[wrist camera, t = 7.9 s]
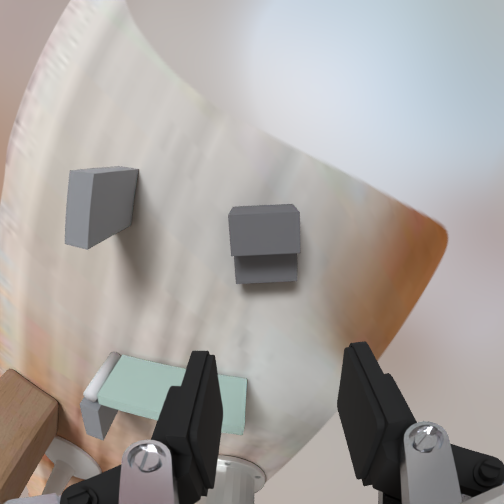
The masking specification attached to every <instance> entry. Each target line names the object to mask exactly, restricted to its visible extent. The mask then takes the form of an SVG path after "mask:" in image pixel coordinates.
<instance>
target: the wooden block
mask: <svg viewBox="0 0 504 504" xmlns="http://www.w3.org/2000/svg"><path fill="white" fill-rule="evenodd" d="M57 419H58V402H57V401H56V400H55V399H54V398H52V397H51V396H49V395H48V394H46V393H45V392H43V391H42V390H40V389H39V388H38V387H36V386H35V385H33V384H32V383H30V382H29V381H28V380H26V379H25V378H24V377H22V376H21V375H20V374H18V373H17V372H16V371H14V370H13V369H9V370H7V371H6V372H5V373H4V374H3V375H2V376H1V377H0V504H4V503H5V502H6V501H8V500H11V499H18V498H19V497H20V495H21V493H22V491H23V490H24V488H25V486H26V484H27V483H28V481H29V479H30V477H31V476H32V474H33V472H34V470H35V469H36V467H37V465H38V464H39V462H40V460H41V459H42V457H43V455H44V454H45V452H46V450H47V449H48V447H49V445H50V444H51V442H52V440H53V439H54V437H55V436H56V434H57Z"/></svg>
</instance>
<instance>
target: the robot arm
mask: <svg viewBox="0 0 504 504" xmlns="http://www.w3.org/2000/svg"><path fill="white" fill-rule="evenodd" d="M337 407H338V412H339V416H340V419H341V423H342V427H343V430H344V434H345V437H346V441H347V445H348V448H349V452H350V456H351V460H352V463H353V467H354V471H355V475H356V478H357V479H362V482H363V485H364V486H367V485H373V488H374V489H376V490H379V492H378V504H504V464H503V463H502V461H500V460H499V459H498V458H495V457H493V456H489V455H486V454H482V453H479V452H475V451H472V450H469V449H465V448H462V447H459V446H456V445H453V444H450V442H449V438H448V435H447V432H446V431H445V430H444V429H443V427H441V426H440V425H438V424H436V423H433V422H424V421H423V422H418V423H417V422H416V420H415V418H414V416H413V414H412V412H411V410H410V409H409V407H408V405H407V403H406V401H405V399H404V397H403V395H402V394H401V392H400V390H399V388H398V386H397V385H396V383H395V381H394V379H393V377H392V376H391V375H390V374H389V373H387V374H384V373H383V372H382V370H381V368H380V366H379V364H378V362H377V360H376V358H375V356H374V355H373V353H372V351H371V349H370V347H369V345H368V344H367V342H356V343H351V344H350V345H349V347H347V348H345V349H344V357H343V365H342V373H341V380H340V387H339V394H338V400H337ZM222 422H223V405H222V399H221V393H220V386H219V380H218V373H217V367H216V360H215V355H210V354H209V351H192V353H191V356H190V359H189V362H188V365H187V368H186V372H185V375H184V378H183V381H182V384H181V386H171V387H170V388H169V390H168V393H167V396H166V398H165V401H164V404H163V407H162V410H161V412H160V415H159V418H158V421H157V424H156V427H155V429H154V432H153V435H152V438H151V440H142V441H138V442H135V443H133V444H132V445H130V446H129V447H128V448H127V449H126V450H125V452H124V454H123V457H122V464H121V465H119V466H117V467H115V468H112V469H110V470H108V471H105V472H103V473H101V474H98V475H96V476H93V477H91V478H89V479H86V480H84V481H81V482H78V483H76V484H73V485H71V486H69V487H68V488H66V489H65V490H64V491H63V493H62V495H57V494H56V493H52V494H46V495H40V496H33V497H26V498H18V499H11V500H8V501H6V502H5V503H4V504H254V493H256V492H258V491H259V490H261V489H262V488H263V486H264V484H265V475H264V472H263V471H262V470H261V469H260V468H259V467H258V466H257V465H255V464H253V463H251V462H249V461H246V460H244V459H240V458H237V457H232V456H225V455H218V453H219V445H220V437H221V429H222Z"/></svg>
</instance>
